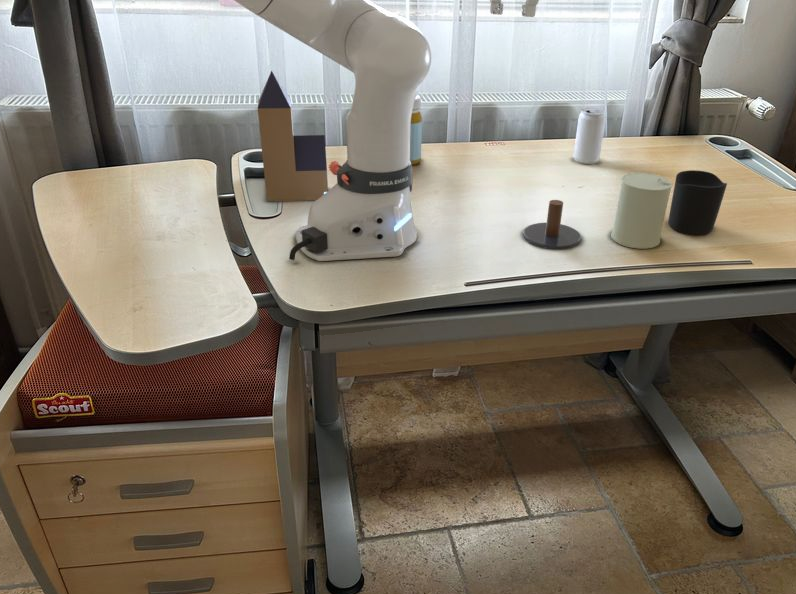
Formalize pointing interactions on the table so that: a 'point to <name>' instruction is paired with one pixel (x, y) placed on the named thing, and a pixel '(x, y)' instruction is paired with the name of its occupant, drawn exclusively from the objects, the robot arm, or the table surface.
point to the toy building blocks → (288, 150)
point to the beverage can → (589, 135)
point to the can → (641, 210)
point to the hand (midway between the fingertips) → (511, 15)
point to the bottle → (416, 132)
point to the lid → (552, 230)
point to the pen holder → (696, 202)
